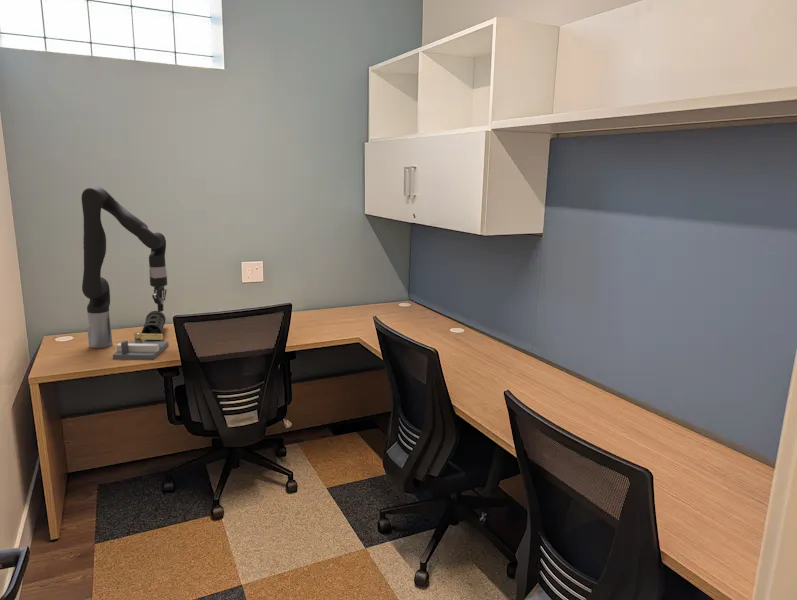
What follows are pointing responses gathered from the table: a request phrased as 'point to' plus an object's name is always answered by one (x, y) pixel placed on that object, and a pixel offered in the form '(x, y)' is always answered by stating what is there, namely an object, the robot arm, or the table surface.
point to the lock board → (142, 354)
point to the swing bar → (147, 336)
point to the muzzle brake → (154, 323)
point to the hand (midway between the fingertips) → (160, 311)
